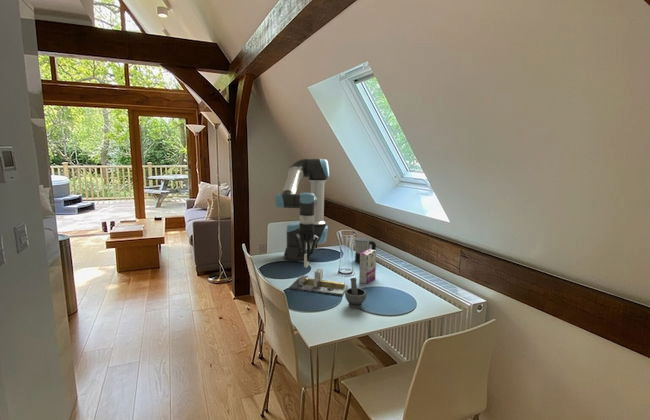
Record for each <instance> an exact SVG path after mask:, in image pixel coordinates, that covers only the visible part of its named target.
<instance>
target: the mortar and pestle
mask: <svg viewBox="0 0 650 420" xmlns="http://www.w3.org/2000/svg"><path fill="white" fill-rule="evenodd" d="M357 285H358V284H357V278H356V277H351V278H350V287H351V288H347V289H346V291H345V292H344V295H345V299H346V301H347V302H348V307H349V308H351V309H354V310H359V309H361V308H362V307H363V303H364V302H365V301H366V298H367V291H366V290H365V289H363V288H360V287H358V286H357ZM361 306H362V307H361ZM360 307H361V308H360ZM358 308H359V309H358Z"/></svg>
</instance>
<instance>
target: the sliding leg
mask: <svg viewBox="0 0 650 420" xmlns="http://www.w3.org/2000/svg"><path fill="white" fill-rule="evenodd" d="M313 279H314V287H317V286H318V281H319V282H320V281H321V280H323V279H324V269H323V268H317V269H316V270H315V271H314V278H313Z"/></svg>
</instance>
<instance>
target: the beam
mask: <svg viewBox="0 0 650 420" xmlns="http://www.w3.org/2000/svg"><path fill="white" fill-rule="evenodd" d="M297 279H298V282H299V286H302V285H303V284H304V283H310V284H314V278H309V276H308V275H302V276H301V277H300V276H299V277H298V278H297ZM318 285H324V286H332V287H339V288H344V287H345V285H346V283H345V282H339V281H333V280H325V279H324V280H323V279H322V280H321V281H320V282H319V281H318Z"/></svg>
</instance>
